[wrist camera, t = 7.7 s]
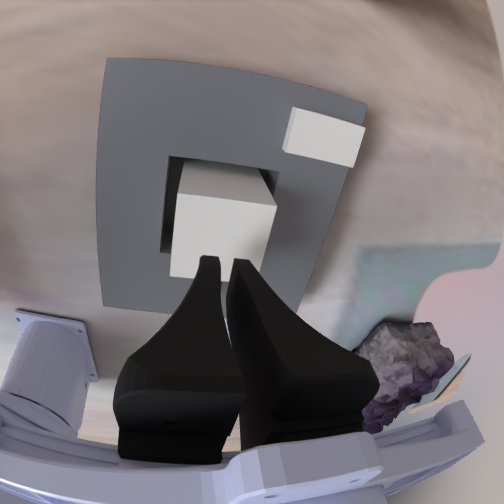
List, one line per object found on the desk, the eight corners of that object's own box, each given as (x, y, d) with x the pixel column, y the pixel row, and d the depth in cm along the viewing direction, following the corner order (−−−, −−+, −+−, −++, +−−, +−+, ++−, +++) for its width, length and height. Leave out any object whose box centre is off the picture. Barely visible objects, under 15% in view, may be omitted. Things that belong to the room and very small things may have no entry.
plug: (233, 267, 23) (243, 328, 18) (173, 261, 22) (167, 322, 17) (256, 166, 19) (277, 206, 14) (185, 156, 18) (177, 193, 13)
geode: (340, 410, 41) (351, 468, 32) (278, 395, 38) (282, 462, 29) (445, 325, 32) (478, 386, 23) (391, 291, 29) (429, 367, 20)
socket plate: (284, 295, 25) (295, 328, 22) (111, 280, 22) (100, 313, 19) (346, 99, 17) (375, 107, 14) (122, 59, 14) (102, 57, 11)
